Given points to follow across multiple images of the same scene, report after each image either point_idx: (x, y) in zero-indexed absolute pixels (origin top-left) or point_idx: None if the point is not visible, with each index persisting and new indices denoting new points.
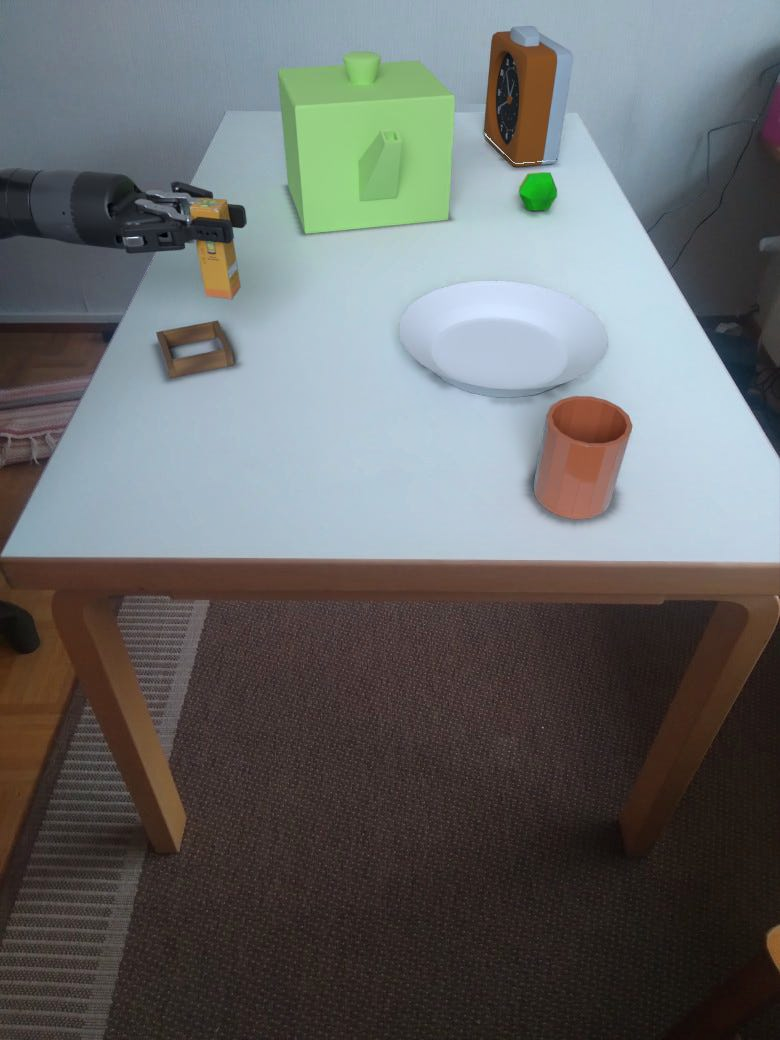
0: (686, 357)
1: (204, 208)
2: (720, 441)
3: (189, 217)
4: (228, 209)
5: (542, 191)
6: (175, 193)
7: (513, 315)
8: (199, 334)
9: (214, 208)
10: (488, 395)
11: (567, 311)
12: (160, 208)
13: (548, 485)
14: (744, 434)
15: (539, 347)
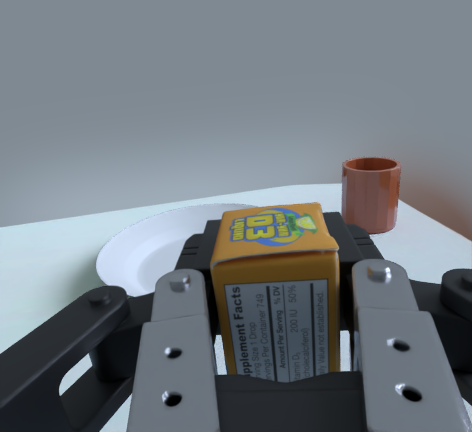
0: (195, 204)
1: (322, 221)
2: (282, 193)
3: (380, 261)
4: None
5: None
6: (151, 368)
7: (138, 259)
8: None
9: (312, 206)
10: None
11: (155, 225)
12: (414, 354)
13: (394, 209)
14: (272, 189)
15: None
